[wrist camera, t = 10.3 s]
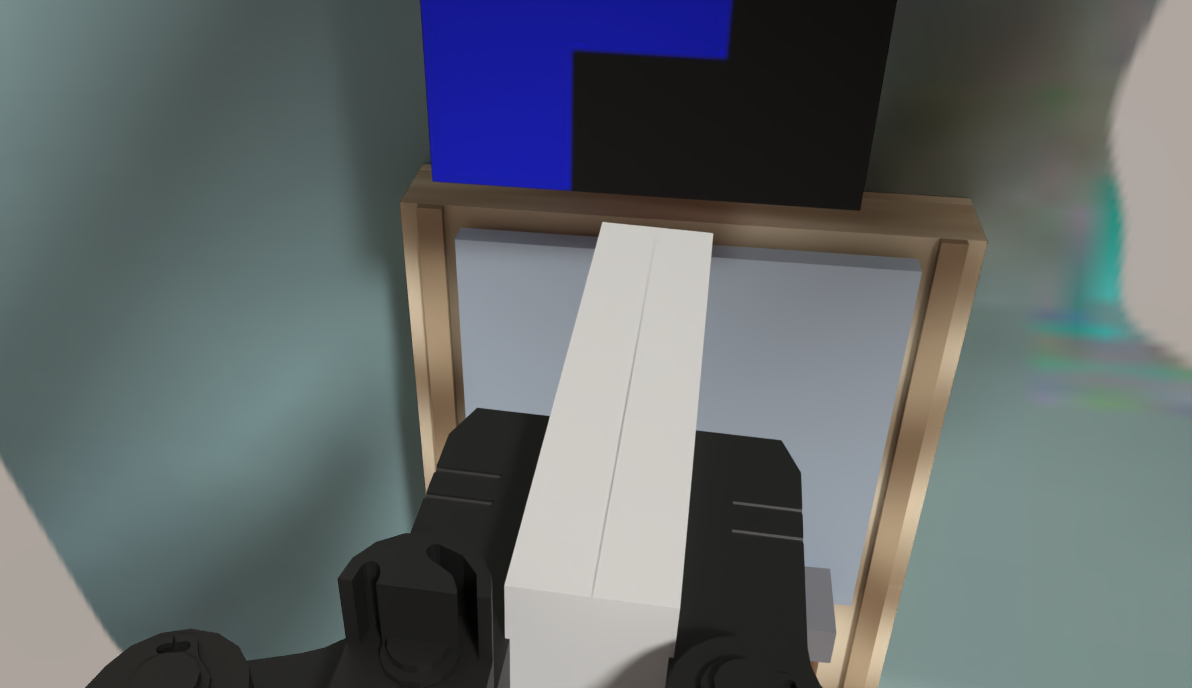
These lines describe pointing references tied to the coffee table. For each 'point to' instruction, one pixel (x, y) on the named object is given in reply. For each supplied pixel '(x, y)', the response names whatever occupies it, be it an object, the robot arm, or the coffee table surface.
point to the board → (880, 228)
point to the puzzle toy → (658, 96)
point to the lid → (726, 367)
